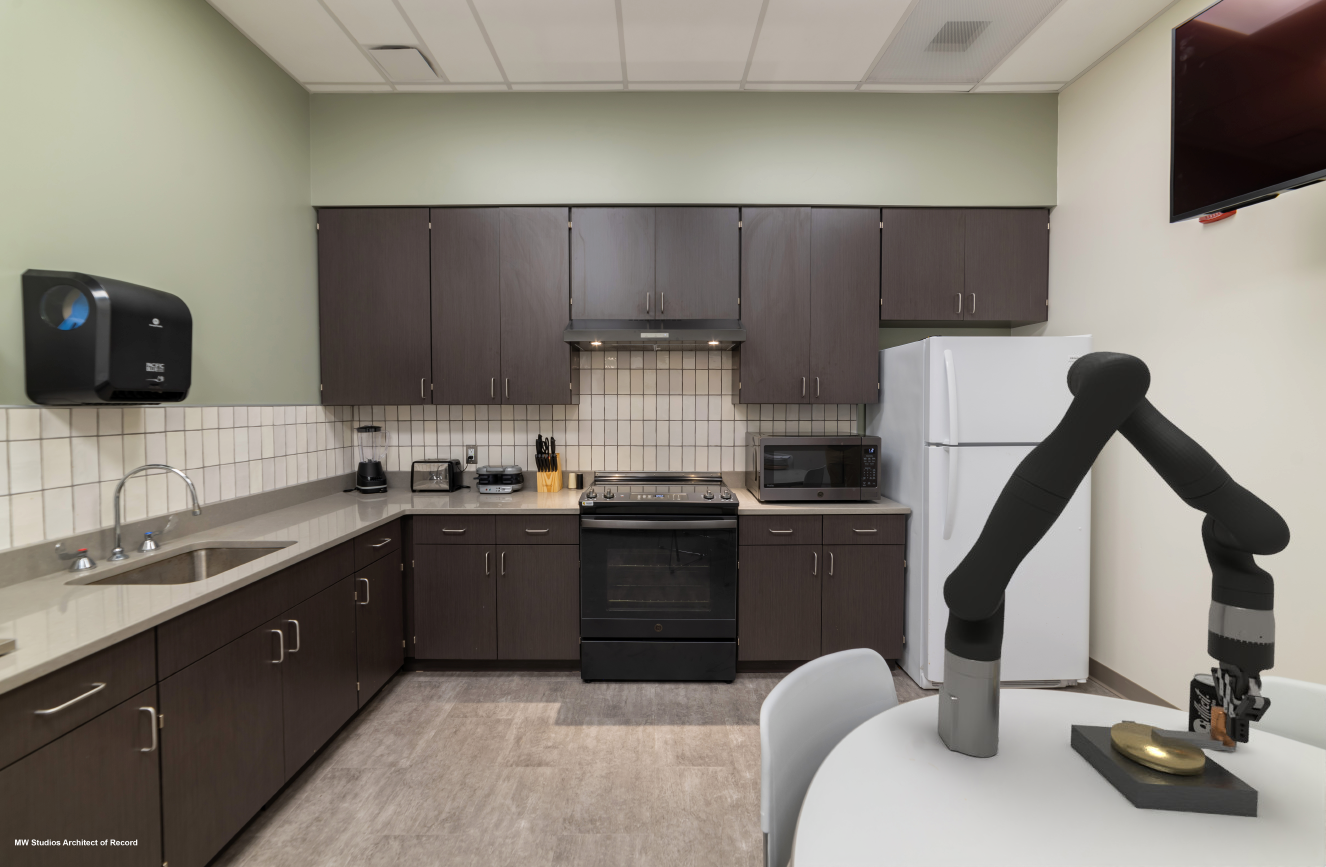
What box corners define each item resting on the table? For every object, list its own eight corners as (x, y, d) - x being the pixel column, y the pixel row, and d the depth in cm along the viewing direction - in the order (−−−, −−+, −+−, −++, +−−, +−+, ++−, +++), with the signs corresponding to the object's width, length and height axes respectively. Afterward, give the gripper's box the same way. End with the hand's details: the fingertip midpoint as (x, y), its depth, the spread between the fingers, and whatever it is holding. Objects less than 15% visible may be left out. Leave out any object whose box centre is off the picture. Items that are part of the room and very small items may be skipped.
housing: (1136, 807, 89) (1138, 781, 89) (1070, 745, 106) (1071, 723, 106) (1256, 816, 88) (1258, 789, 88) (1169, 752, 105) (1170, 729, 104)
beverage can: (1241, 757, 103) (1244, 691, 103) (1192, 745, 107) (1195, 682, 107) (1230, 740, 109) (1233, 677, 109) (1184, 729, 113) (1186, 669, 112)
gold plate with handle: (1141, 771, 92) (1143, 721, 91) (1091, 727, 105) (1093, 684, 104) (1265, 781, 89) (1267, 731, 89) (1198, 735, 102) (1200, 691, 102)
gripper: (1297, 650, 84) (1293, 768, 84) (1249, 623, 96) (1246, 725, 96) (1230, 642, 87) (1226, 755, 87) (1192, 616, 99) (1188, 715, 99)
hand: (1237, 739), depth 92 cm, fingers closed
